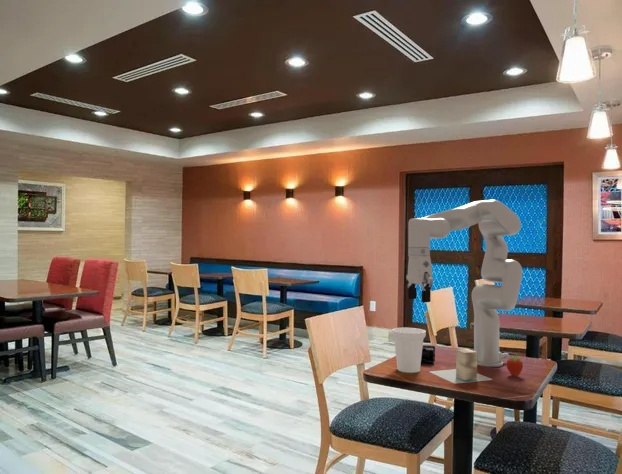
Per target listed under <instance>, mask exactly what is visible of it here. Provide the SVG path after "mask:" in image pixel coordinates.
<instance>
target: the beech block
mask: <svg viewBox="0 0 622 474" xmlns="http://www.w3.org/2000/svg"><path fill="white" fill-rule="evenodd" d="M455 369H456V378H457V379H459V380H461V381H464V382H467V383H471V382H470V381H476V382H478V381H477V373H478V365H477V352H476V351H474V349H469V348H462V349H455Z"/></svg>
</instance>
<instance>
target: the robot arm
mask: <svg viewBox="0 0 622 474" xmlns="http://www.w3.org/2000/svg"><path fill="white" fill-rule="evenodd" d="M477 224H478V230H479V232H480V234H481V236H482V237H483V239H484V242H485V252H484V256H483V260H482V265H481V271H480V276H481V278H482V279H483V280H484V281H486V282H489V283H497V284H488V283H486V284H485V283H482V284H478V285H475V286H474V287H473V289H472V291H471V302H472V307H473V318H474V319H473V322H474V323H473V351H476V352H477V366H480V367H491V368H499V367H502V366H503V365H504V361H503V358H504V359H507V358H509V357H510V354H509V353H508V352H503V353H502V352H501V351H500V318H499V314H498V312H497V311H506V312H507V311H509V312H510V311H512V310H514V308H515V307H516V305H517V301H518V297H519V293H520V290H521V284H522V281H523V280H522V279H523V267H522V264H520V262H519V261H517V260H515V259H512V258H511V259H508V254H509V252H508V251H509V247H508V244H507V242H506V241H505V239H504V238H503V237H504V236H505V237H506V236H515V235H517V234H518V233H519V232H520V231H521V226H522V224H521V219H520V218H519V216H518V215H517V214H516V213H515V212H514V211H513V210H511V208H509V207H508V206H507V205H506V204H504V202H501V201H499V200H497V199H484V200H475V201H472V202H469V203H467V204H463V205H462V206H458V207H455V208H451V209H447V210H445V211H440V212H436V213H432V214H429V215H427V216H424V217H421V218H420V217H417V218H416V217H415V218H413V217H412V218H410V219H409V220H408V228H407V229H408V233H407V234H408V237H407V238H408V241H407V242H408V243H407V244H408V245H407V246H408V248H407V249H408V250H407V251H408V253H407V254H408V255H407V256H408V263H407V274H406V276H405V278H406V284H407V299H409V300H417V298H418V297H417V294H418V293H417V292H418V291H417V289H418V288H417V285H420V287H421V289H422V290H421V303H430V302H431V299H432V298H431V297H432V295H431V293H432V287H433V283H434V278H433V266H432V259H431V247H430V246H431V239H432V240H435V239H436V240H438V239H439V240H440V239H444V238H446V237H447V236H449V235H450V233H451V232H454V231H461V230H465V229H467V228H470V227H472V226H474V225H477ZM498 283H499V284H501V285H498ZM496 310H497V311H496Z"/></svg>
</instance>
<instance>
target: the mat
mask: <svg viewBox="0 0 622 474" xmlns="http://www.w3.org/2000/svg"><path fill="white" fill-rule="evenodd" d="M428 373H430V374H433V375H435V376H437V377H438V378H441V379H442V380H446V381H448V382H449V383H452V384H453V385H456V384H463V383H465V384H466V383H468V382H464V381H461V380H459V379H457V378H456V368H452V369H441V370H430V371H428ZM493 380H494V379H493V378H490V377H488V376H485V375H482V374H480V373H478V372H477V381H470V382H469V383H474V382H483V381H485V382H486V381H493Z"/></svg>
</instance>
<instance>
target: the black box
mask: <svg viewBox="0 0 622 474" xmlns="http://www.w3.org/2000/svg"><path fill="white" fill-rule="evenodd" d="M435 362H436V346H435V345H423V347H422V356H421V365H420V366H423V365H424V366H435Z"/></svg>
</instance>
